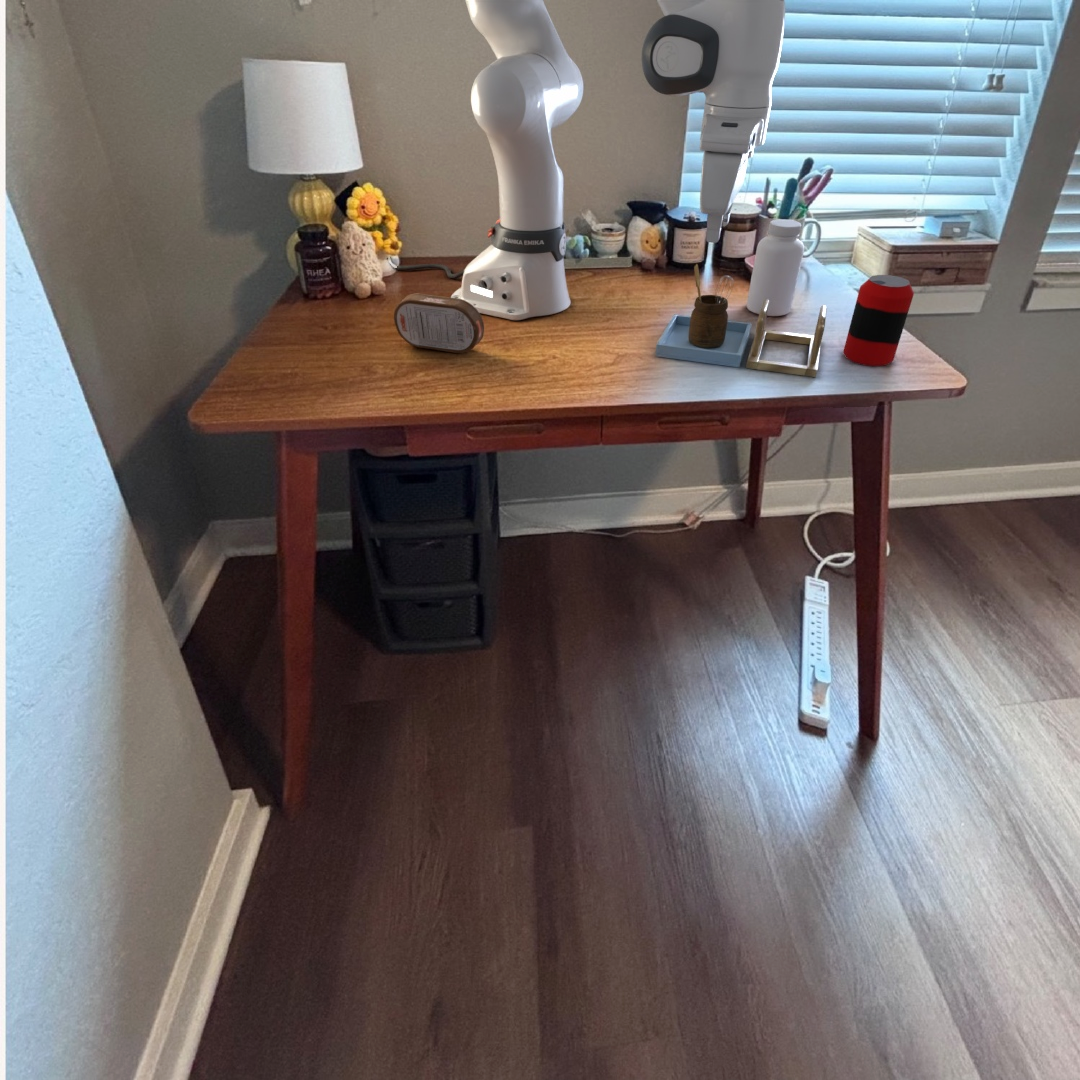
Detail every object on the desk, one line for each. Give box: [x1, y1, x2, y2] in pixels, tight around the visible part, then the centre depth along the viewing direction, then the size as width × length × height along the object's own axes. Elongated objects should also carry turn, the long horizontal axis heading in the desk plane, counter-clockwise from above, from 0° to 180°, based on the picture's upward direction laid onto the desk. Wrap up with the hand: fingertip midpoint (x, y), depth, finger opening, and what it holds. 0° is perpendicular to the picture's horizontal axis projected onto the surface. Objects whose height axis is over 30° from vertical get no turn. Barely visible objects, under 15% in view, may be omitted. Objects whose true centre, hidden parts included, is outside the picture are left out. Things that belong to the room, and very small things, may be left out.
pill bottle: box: [746, 218, 805, 317], centre depth 127 cm, size 8×8×15 cm
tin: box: [393, 292, 485, 354], centre depth 116 cm, size 15×3×8 cm, turn 71°
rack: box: [745, 299, 828, 378], centre depth 113 cm, size 10×14×7 cm
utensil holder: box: [689, 263, 734, 348], centre depth 115 cm, size 6×6×12 cm
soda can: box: [842, 274, 915, 367], centre depth 111 cm, size 8×8×12 cm
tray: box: [654, 314, 753, 368], centre depth 118 cm, size 13×14×2 cm
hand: (717, 233), depth 108 cm, fingers open, 8 cm apart
